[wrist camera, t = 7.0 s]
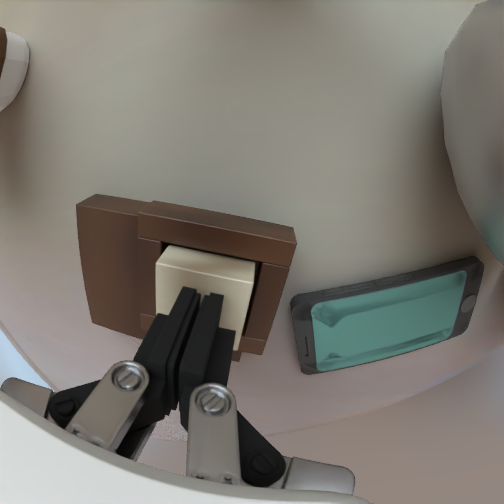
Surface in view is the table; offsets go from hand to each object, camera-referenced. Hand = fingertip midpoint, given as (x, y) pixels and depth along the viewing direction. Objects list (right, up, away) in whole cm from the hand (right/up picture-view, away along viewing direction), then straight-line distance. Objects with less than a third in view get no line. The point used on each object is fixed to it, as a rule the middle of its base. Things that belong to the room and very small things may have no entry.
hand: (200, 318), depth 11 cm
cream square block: (0, +1, +2) cm, 2 cm away
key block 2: (-3, +1, +6) cm, 7 cm away
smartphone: (+12, -2, +7) cm, 14 cm away
